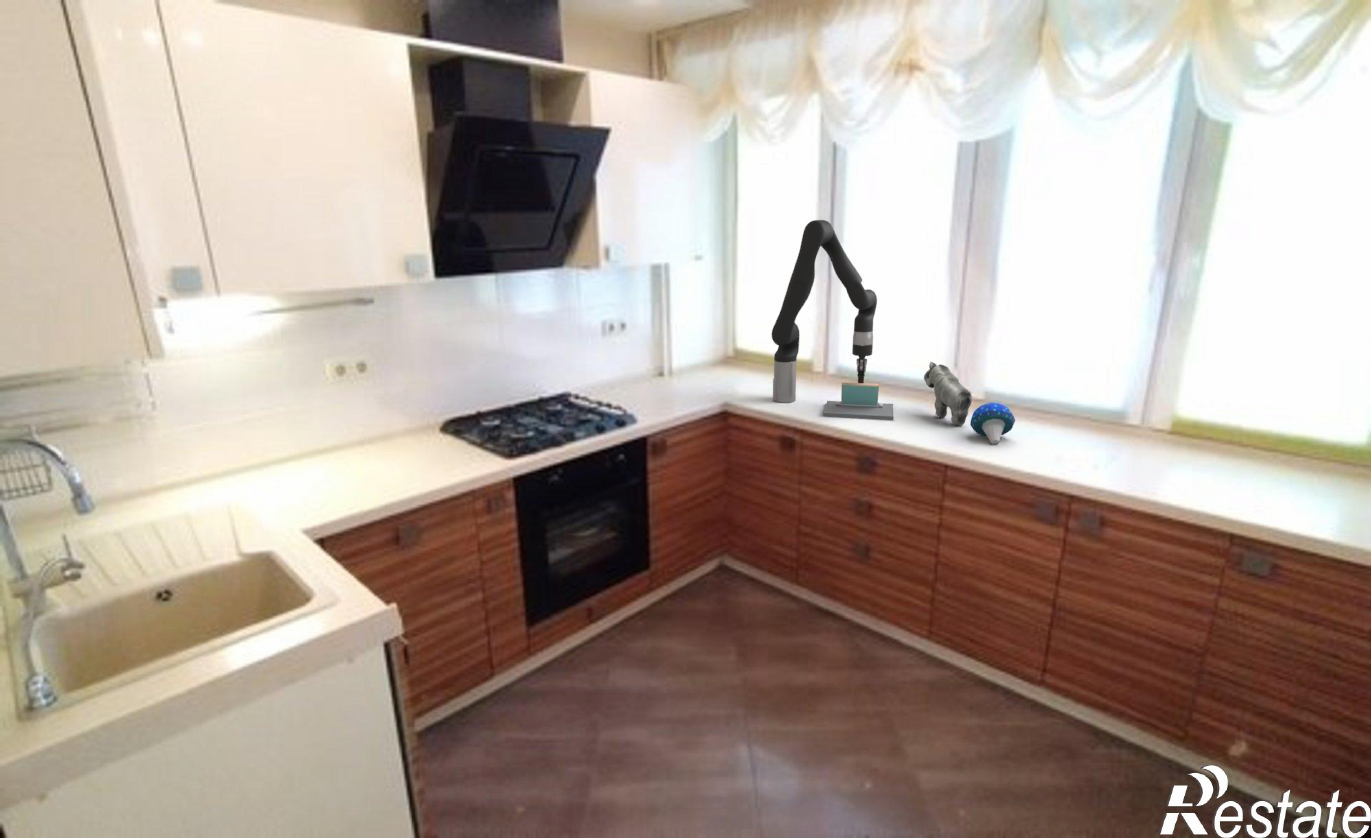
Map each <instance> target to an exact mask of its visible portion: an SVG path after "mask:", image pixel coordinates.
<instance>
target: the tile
mask: <svg viewBox="0 0 1371 838" xmlns="http://www.w3.org/2000/svg"><path fill="white" fill-rule="evenodd" d="M879 387H880V384H879V383H869V382H868V383H866V382H865V383H858V382H841V394H840V395H841V398H840V399H841V400H840V401H841V404H850V405H870V406H878V403H879V391H880V389H879Z"/></svg>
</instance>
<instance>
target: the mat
mask: <svg viewBox="0 0 1371 838" xmlns="http://www.w3.org/2000/svg"><path fill="white" fill-rule="evenodd" d="M823 417H824V418H826V417H827V418H844V419H845V418H846V419H860V420H863V419H864V420H878V421H879V420H880V421H894V417H895V415H894V403H885V402H884V403H881V402H878V406H870V405H850V404H841V400H826V404H825V408H824V411H823Z"/></svg>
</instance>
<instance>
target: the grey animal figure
mask: <svg viewBox="0 0 1371 838" xmlns="http://www.w3.org/2000/svg"><path fill="white" fill-rule="evenodd" d="M928 367H929V369H928V370H927V371H926V372H925V373H924V376H923V380H924V382H925V384H926V385H927V387H929V388H931V389H933V392H934V396H935V402H934V409H935V415H936V417H938V418H940V419H941V418H945V417H947V414H948V408H949V409H950V413H951V418H950V421H951V423H952V424H953V425H954V426H957V427H961V426H963V425H965V423H966V419H967V417H968V415H969V409H970V407H971V405H972V401H973V395H972V392H971V391H970V390H969V389H968V388H966V386H964V385H963V384H962V383H961V381H960V379H959V378H958V376H957V375H955V374H954V373H953V372H952V371H951V369H950V368H949V367H948V366H946V365H944V364H938V365H937V363H935V362H933V361H930V362H929V366H928Z"/></svg>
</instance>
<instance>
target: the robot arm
mask: <svg viewBox="0 0 1371 838" xmlns="http://www.w3.org/2000/svg"><path fill="white" fill-rule="evenodd" d="M820 248H822V249H823V250H824V251H825V252H826V254H827V255H828V257H829V259H830V261H831V266H832V267H833V270H834V272H835V275H836V277H837V279H839V281H840V282H841V284H842V285H843V286H844V288H845V290H846V293H847V295H848V298H849V300H850V302H851V304H852V305H853V306H854V307H855V308H856V309H857V310H858V312H857V315H856V316H855V317H854V326H853V334H852V349H851V351H852V352H851V354H852V355H854V356H856V357H858V358H856V363H855V364H856V372H857V383H864V382H865V381H864V380H865V374H866V372H867V364H868V358H866V357H869V356H870V357H871V356H872V355H873V348H874V347H873V345H874V332H873V331H874V317H875V314H876V311H877V310H876V309H877V306H878V305H877V304H878V298H877V293H876V292H875V291H874V290H872V289H865V287H864V285H863V284H862V282H863V278H862V276H861V274H860V273H859V272H858V270H857V269H856V267H855V266H854V265H853V263H852V261H851V260H850V258H849V257H848V255H847V253H846V252H845V250H844V248H843V246H842V243H841V242H840V241H839V238H838V236H837V234H836V232H835V230H834V227H833V226H832V224H831V223H830V222H829V221H828V220H824V219H816V220H811V221H809V222H808V223H807V224H806V225H805V227H804V229H803V234H802V238H801V242H800V247H799V252H798V254H797V258H796V261H795V263H794V267H793V270H792V273H791V276H790V277H789V278H790V279H789V282H788V285H787V288H786V292H785V294H784V298H783V300H782V305H781V308H780V311H779V314H778V316H777V318H776V320H775V322H774V325H773V327H772V330H771V339H772V342H773V343H774V344H775V345H777V346H778V347H777V350H776V351H775V353H774V356H773V357H774V358H773V361H774V362H773V365H774V366H773V379H772V402H777V403H784V404H785V403H787V404H788V403H793V402H795V401H796V398H797V396H796V395H797V360H798V359H797V357H798V354H799V349H800V329H799V326H798V324H797V323H796V319H797V316H798V314H799V313H800V312H801V310H802V309H803V306H804V305H805V303H806V302H807V301H808V299H809V296H810V294H811V292H812V289H813V286H814V282H815V279H816V277H815V275H816V268H815V266H816V260H817V259H816V258H817V256H818V253H819V250H820Z"/></svg>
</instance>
